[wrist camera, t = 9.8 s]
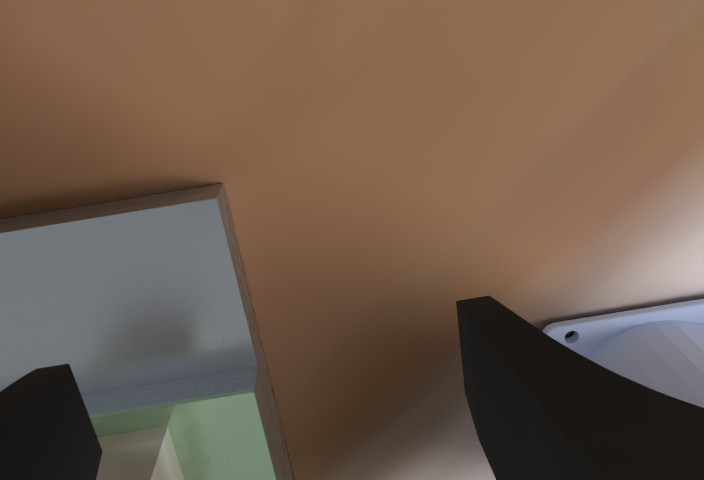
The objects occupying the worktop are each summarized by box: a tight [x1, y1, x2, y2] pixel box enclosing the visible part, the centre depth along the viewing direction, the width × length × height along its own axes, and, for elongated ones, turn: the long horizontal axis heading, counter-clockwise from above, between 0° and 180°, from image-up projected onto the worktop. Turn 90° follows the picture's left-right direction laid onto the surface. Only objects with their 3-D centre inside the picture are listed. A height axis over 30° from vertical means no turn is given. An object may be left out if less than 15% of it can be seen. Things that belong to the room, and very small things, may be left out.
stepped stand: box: [0, 183, 294, 480], centre depth 22 cm, size 10×18×4 cm, turn 8°
